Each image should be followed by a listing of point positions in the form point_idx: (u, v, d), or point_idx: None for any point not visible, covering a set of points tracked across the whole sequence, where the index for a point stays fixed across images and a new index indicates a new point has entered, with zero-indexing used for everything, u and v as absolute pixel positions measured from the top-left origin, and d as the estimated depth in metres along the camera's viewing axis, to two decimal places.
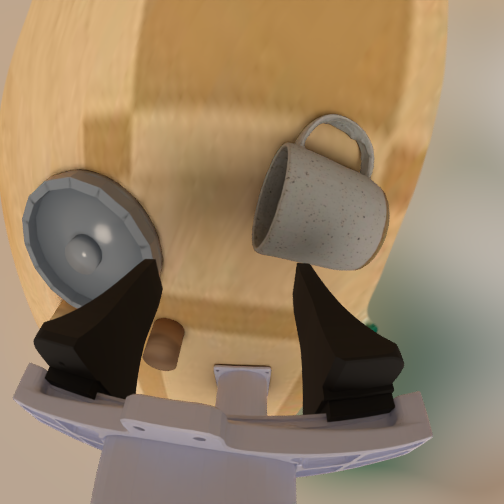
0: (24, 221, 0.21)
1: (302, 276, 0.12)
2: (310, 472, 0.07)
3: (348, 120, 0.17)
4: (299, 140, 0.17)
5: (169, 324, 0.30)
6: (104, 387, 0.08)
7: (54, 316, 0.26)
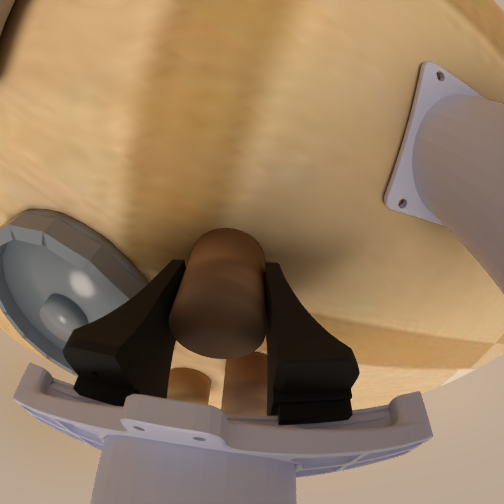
0: (48, 358, 0.19)
1: (267, 275, 0.12)
2: (310, 471, 0.07)
3: None
4: None
5: (191, 253, 0.14)
6: None
7: None
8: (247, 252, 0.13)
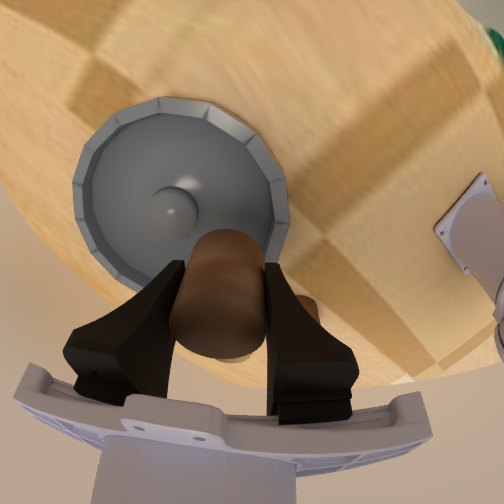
0: (94, 252, 0.21)
1: (267, 275, 0.12)
2: (310, 471, 0.07)
3: None
4: None
5: (192, 253, 0.14)
6: None
7: None
8: (247, 253, 0.13)
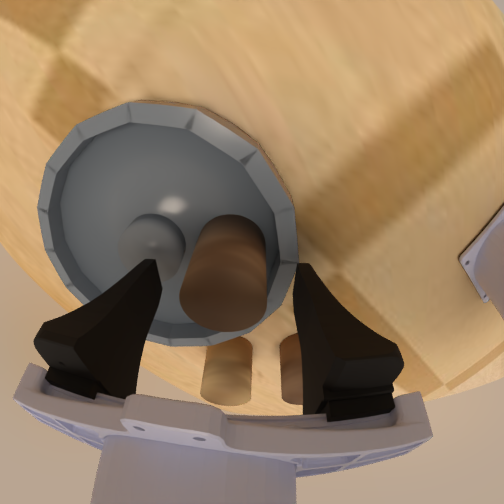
0: (69, 286, 0.17)
1: (302, 276, 0.12)
2: (310, 472, 0.07)
3: None
4: None
5: (199, 236, 0.15)
6: (104, 387, 0.08)
7: (203, 378, 0.20)
8: (250, 234, 0.14)
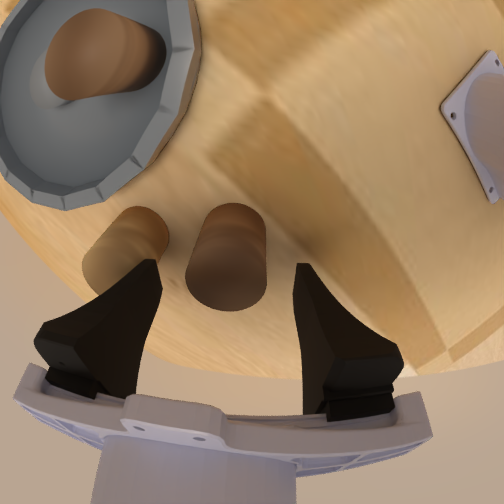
0: None
1: (302, 276, 0.12)
2: (310, 472, 0.07)
3: None
4: None
5: None
6: (104, 387, 0.08)
7: None
8: (140, 23, 0.08)
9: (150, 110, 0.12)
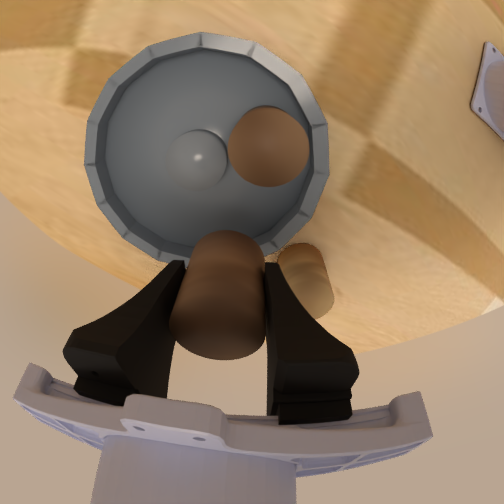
0: (126, 235, 0.20)
1: (267, 275, 0.12)
2: (310, 472, 0.07)
3: None
4: None
5: None
6: None
7: None
8: (276, 107, 0.14)
9: None
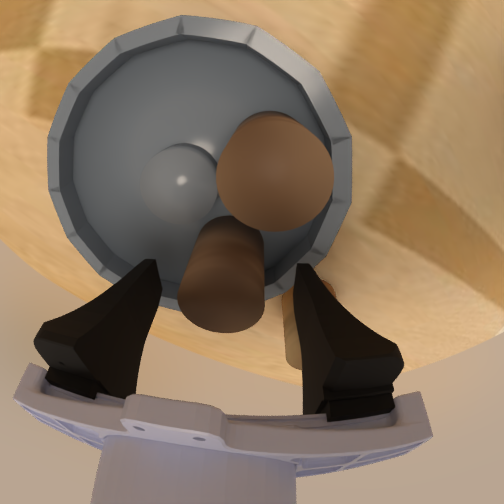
0: (102, 273, 0.16)
1: (302, 276, 0.12)
2: (310, 472, 0.07)
3: None
4: None
5: None
6: (104, 387, 0.08)
7: (285, 340, 0.16)
8: (284, 115, 0.11)
9: None
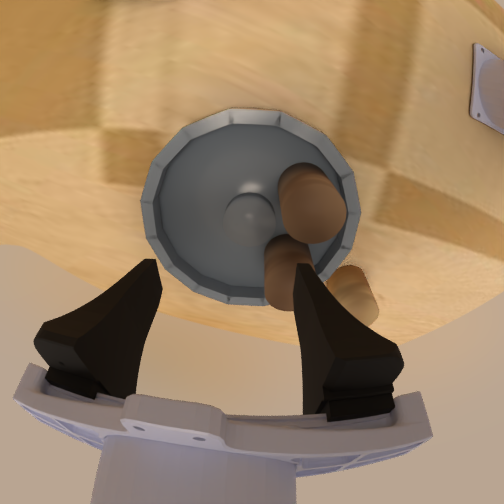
0: (196, 289, 0.24)
1: (302, 276, 0.12)
2: (310, 472, 0.07)
3: None
4: None
5: (278, 191, 0.20)
6: (104, 387, 0.08)
7: None
8: (310, 168, 0.18)
9: None
